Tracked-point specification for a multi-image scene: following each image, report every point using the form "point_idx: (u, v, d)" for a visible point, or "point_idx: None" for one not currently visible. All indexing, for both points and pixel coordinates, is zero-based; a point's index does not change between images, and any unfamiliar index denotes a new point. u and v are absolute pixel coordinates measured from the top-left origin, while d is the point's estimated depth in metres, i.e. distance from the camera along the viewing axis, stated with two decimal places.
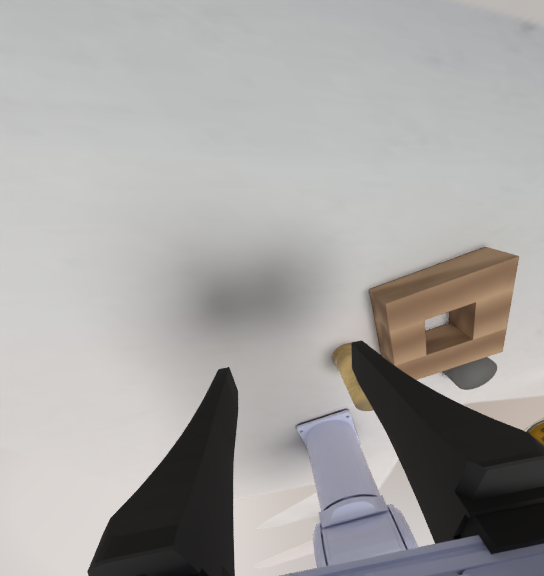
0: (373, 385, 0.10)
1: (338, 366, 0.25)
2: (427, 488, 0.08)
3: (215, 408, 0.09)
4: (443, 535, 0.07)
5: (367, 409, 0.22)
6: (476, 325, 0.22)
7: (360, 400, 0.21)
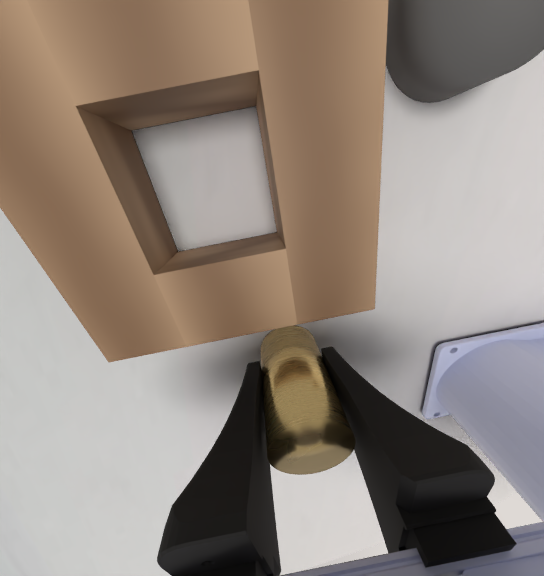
0: (338, 392, 0.10)
1: None
2: (379, 498, 0.08)
3: (254, 400, 0.09)
4: (392, 545, 0.07)
5: (346, 453, 0.09)
6: (186, 71, 0.06)
7: (306, 466, 0.09)
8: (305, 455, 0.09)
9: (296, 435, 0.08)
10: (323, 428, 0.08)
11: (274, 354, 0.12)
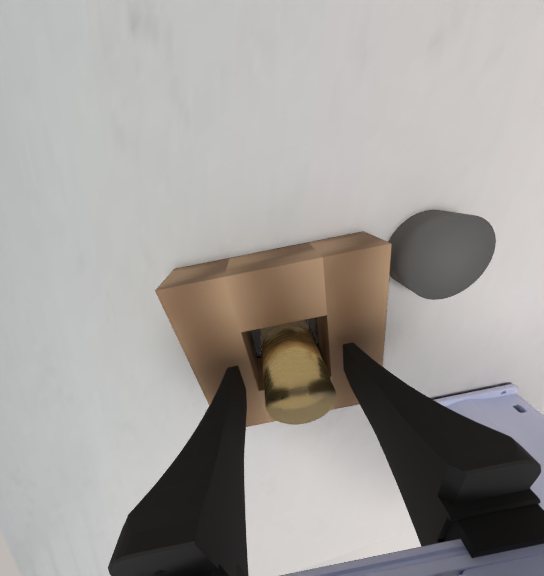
0: (363, 387, 0.10)
1: None
2: (413, 491, 0.08)
3: (226, 406, 0.09)
4: (428, 538, 0.07)
5: (329, 404, 0.11)
6: (294, 318, 0.12)
7: (297, 417, 0.11)
8: (296, 405, 0.11)
9: (288, 387, 0.10)
10: (309, 382, 0.10)
11: (271, 331, 0.14)
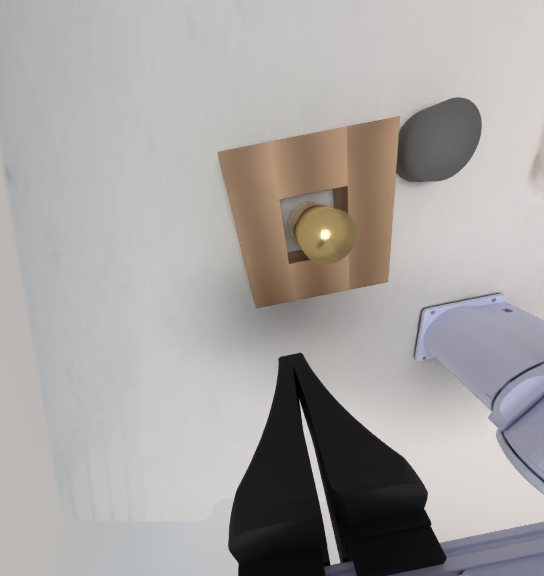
0: (302, 399, 0.10)
1: None
2: (330, 508, 0.08)
3: (294, 392, 0.09)
4: (340, 555, 0.07)
5: (351, 243, 0.14)
6: (321, 187, 0.15)
7: (326, 256, 0.14)
8: (325, 242, 0.14)
9: (320, 221, 0.13)
10: (336, 215, 0.13)
11: (300, 209, 0.17)
